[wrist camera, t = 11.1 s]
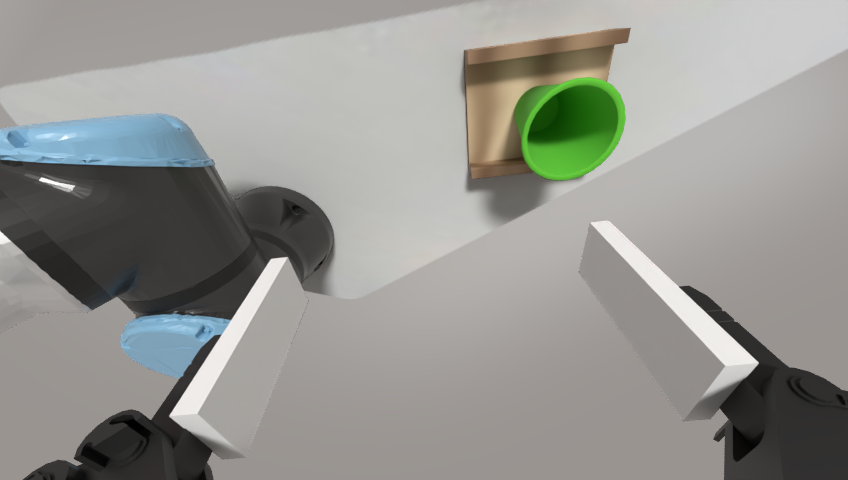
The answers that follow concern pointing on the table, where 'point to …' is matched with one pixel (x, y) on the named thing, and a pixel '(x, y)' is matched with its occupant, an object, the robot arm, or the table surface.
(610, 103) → the cup
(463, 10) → the table surface
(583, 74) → the wooden tray
